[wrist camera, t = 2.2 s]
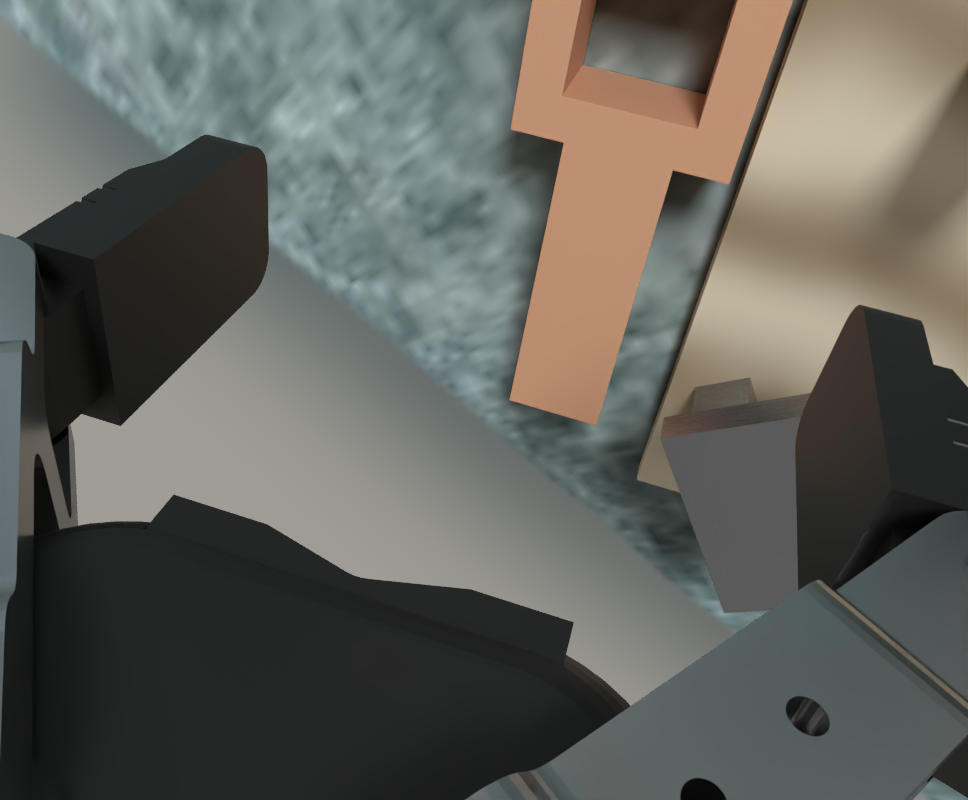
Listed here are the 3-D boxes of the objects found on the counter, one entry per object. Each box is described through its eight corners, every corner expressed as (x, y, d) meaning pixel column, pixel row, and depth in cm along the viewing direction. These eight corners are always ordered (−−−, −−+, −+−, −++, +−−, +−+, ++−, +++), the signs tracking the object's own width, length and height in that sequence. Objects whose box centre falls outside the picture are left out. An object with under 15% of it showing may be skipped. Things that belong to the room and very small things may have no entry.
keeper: (850, 302, 25) (863, 407, 21) (888, 480, 29) (906, 601, 24) (678, 337, 28) (659, 438, 24) (732, 498, 31) (724, 612, 27)
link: (578, -137, 22) (553, -126, 19) (813, -89, 21) (817, -71, 19) (490, 341, 31) (467, 387, 29) (651, 387, 30) (640, 438, 28)
